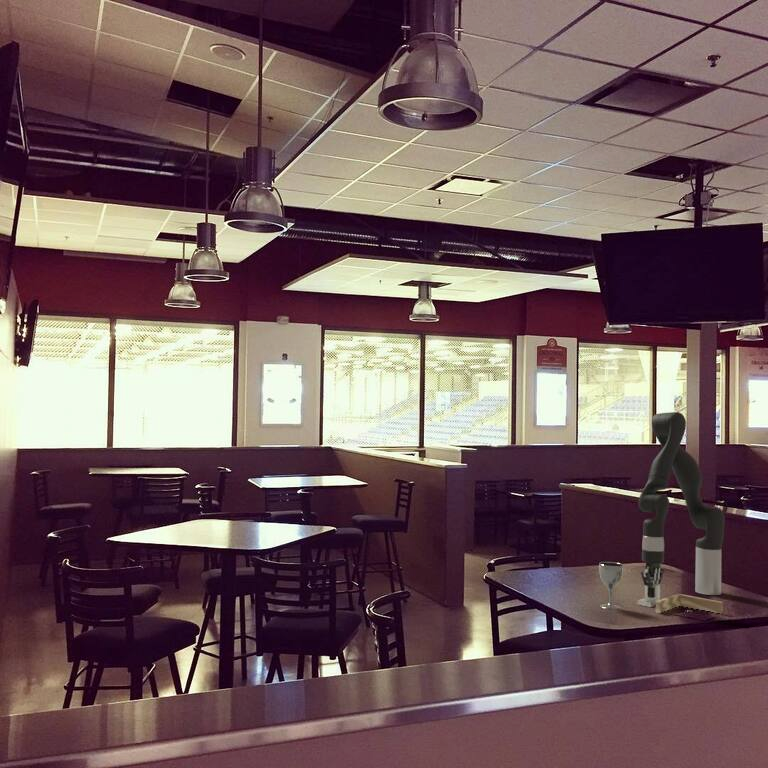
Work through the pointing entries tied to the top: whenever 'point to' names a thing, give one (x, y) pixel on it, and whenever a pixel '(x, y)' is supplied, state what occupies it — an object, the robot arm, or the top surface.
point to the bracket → (647, 600)
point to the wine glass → (610, 579)
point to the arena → (688, 603)
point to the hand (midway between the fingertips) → (652, 596)
